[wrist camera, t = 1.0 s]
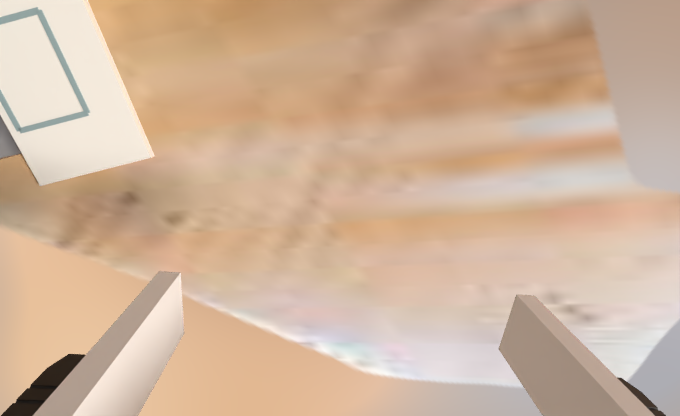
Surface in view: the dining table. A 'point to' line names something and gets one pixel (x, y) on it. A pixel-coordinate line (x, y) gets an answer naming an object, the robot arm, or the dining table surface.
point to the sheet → (64, 91)
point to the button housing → (7, 142)
